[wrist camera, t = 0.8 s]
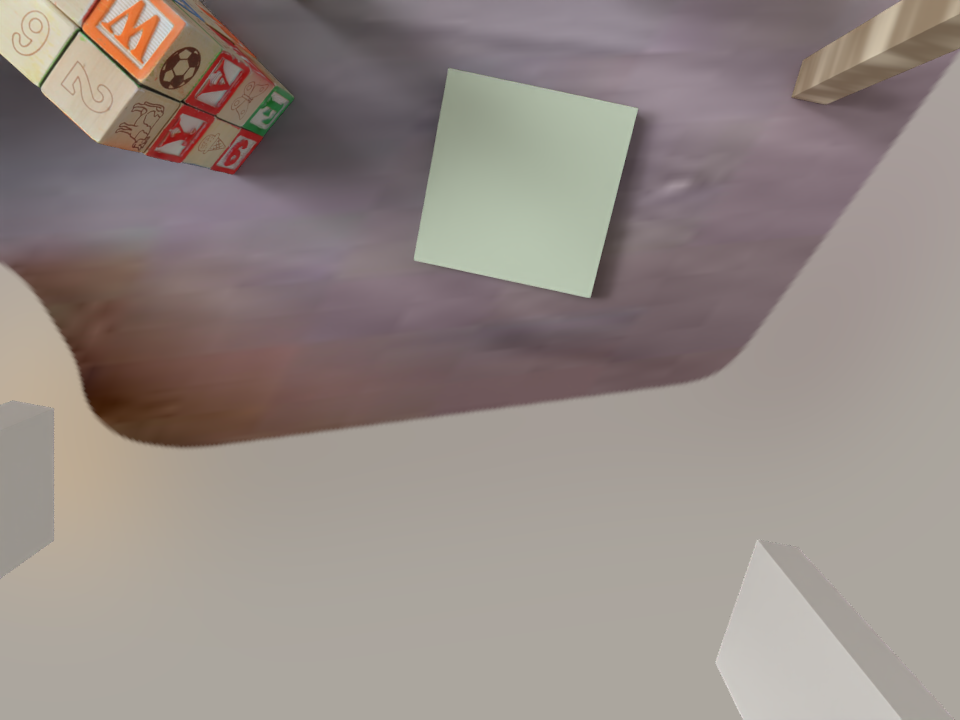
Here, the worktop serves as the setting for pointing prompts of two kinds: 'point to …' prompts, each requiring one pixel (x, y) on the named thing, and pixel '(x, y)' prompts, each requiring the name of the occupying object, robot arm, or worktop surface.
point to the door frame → (880, 49)
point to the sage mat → (522, 182)
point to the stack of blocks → (146, 76)
